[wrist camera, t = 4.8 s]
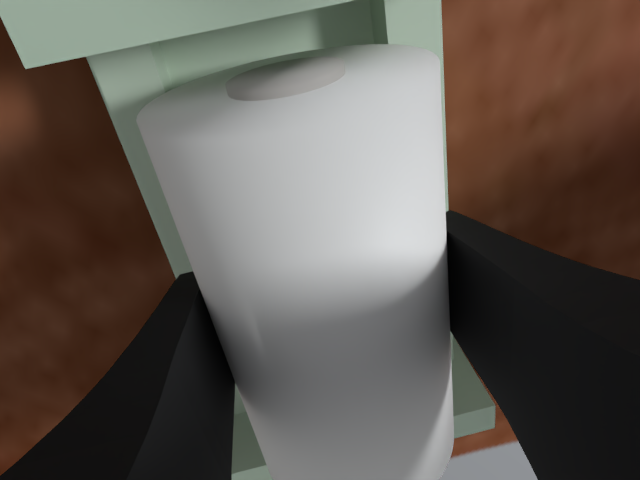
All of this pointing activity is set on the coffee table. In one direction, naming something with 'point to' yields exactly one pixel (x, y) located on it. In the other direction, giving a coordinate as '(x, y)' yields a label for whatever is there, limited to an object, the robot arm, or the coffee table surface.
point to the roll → (321, 251)
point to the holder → (206, 58)
